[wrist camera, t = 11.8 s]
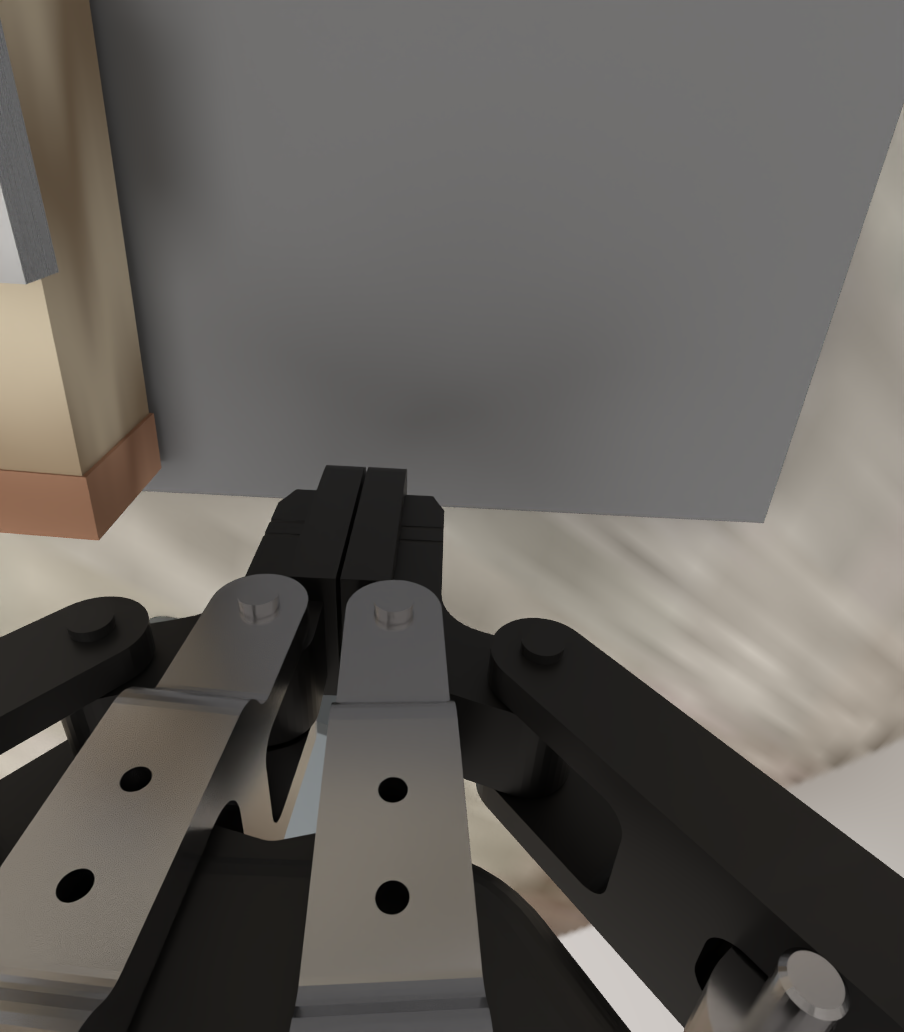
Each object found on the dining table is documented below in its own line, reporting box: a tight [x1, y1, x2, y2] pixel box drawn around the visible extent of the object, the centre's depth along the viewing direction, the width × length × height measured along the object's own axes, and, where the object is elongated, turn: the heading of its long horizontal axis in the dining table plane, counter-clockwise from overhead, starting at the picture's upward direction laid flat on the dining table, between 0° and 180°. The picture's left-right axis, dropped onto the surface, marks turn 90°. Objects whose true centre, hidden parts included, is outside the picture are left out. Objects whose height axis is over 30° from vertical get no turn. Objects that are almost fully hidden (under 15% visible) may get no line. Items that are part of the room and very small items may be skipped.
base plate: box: [89, 0, 904, 523], centre depth 12 cm, size 22×24×6 cm
